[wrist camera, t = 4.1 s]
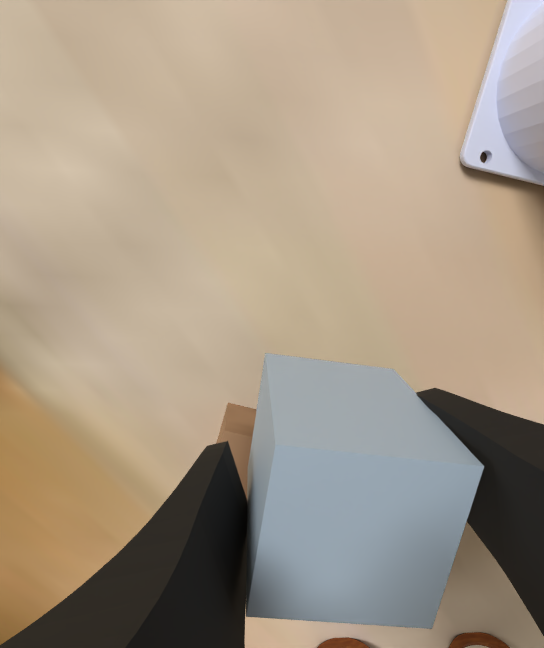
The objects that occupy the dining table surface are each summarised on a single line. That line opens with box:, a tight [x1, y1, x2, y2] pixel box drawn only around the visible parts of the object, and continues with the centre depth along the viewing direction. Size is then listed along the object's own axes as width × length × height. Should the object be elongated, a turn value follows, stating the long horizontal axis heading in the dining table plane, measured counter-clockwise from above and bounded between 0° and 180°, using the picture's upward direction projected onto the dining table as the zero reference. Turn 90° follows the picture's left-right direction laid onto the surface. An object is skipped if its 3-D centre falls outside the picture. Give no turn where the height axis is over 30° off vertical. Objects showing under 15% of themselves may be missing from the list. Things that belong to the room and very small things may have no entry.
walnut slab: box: [216, 403, 257, 498], centre depth 20 cm, size 6×6×3 cm
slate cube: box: [246, 353, 484, 629], centre depth 10 cm, size 4×4×5 cm
